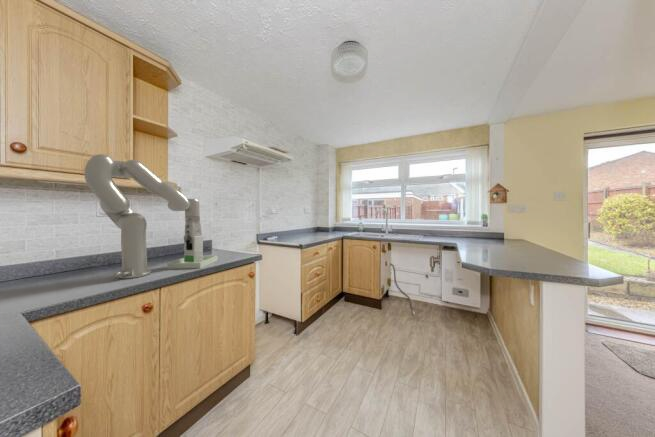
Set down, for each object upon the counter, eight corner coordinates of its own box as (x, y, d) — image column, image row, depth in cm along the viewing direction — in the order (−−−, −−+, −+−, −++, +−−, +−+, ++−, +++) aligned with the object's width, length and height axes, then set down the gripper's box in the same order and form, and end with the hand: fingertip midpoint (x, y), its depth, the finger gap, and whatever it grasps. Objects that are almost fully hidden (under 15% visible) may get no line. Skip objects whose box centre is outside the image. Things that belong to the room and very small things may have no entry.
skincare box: (183, 262, 134) (182, 236, 133) (193, 260, 140) (192, 235, 139) (194, 263, 131) (193, 236, 131) (204, 260, 137) (203, 235, 137)
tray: (200, 268, 126) (200, 262, 126) (167, 268, 125) (167, 263, 125) (217, 260, 146) (217, 255, 146) (189, 260, 146) (188, 256, 146)
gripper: (190, 220, 126) (191, 251, 127) (206, 218, 143) (207, 246, 144) (176, 220, 126) (177, 251, 126) (194, 219, 143) (195, 246, 144)
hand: (193, 248), depth 135 cm, fingers closed on skincare box, 7 cm apart
